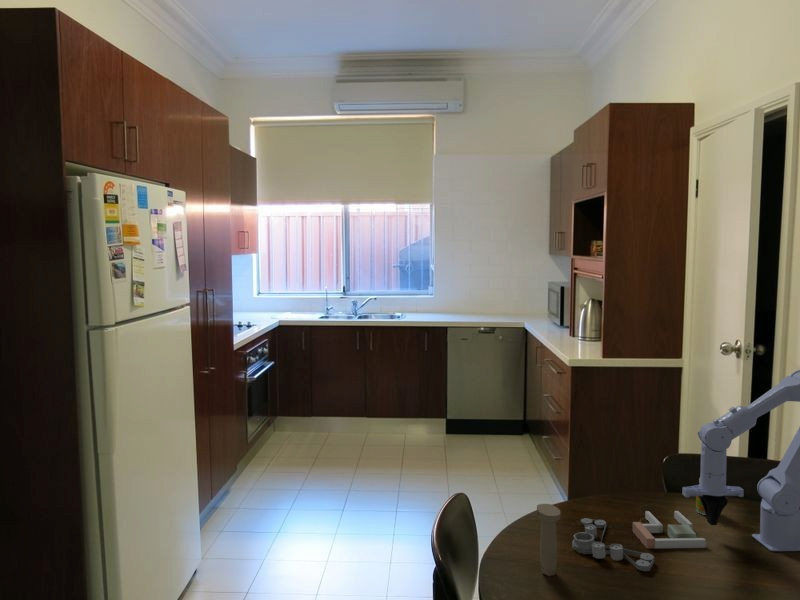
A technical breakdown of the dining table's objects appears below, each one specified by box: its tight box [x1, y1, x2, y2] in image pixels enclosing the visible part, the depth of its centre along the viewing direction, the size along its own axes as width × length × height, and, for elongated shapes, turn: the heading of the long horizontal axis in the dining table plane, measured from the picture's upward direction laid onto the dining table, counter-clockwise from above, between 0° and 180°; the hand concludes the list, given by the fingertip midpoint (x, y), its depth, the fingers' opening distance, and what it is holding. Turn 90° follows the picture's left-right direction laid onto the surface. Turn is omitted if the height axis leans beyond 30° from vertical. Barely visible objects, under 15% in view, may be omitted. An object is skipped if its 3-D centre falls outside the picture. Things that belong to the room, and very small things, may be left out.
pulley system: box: [571, 517, 655, 572], centre depth 142 cm, size 27×5×15 cm
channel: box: [642, 510, 707, 549], centre depth 149 cm, size 14×16×2 cm
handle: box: [536, 503, 561, 577], centre depth 130 cm, size 5×6×15 cm
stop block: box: [632, 521, 656, 549], centre depth 145 cm, size 2×9×2 cm, turn 179°
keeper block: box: [667, 524, 697, 538], centre depth 145 cm, size 5×5×3 cm
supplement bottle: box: [695, 477, 706, 516], centre depth 159 cm, size 5×5×10 cm
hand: (711, 523), depth 145 cm, fingers closed
